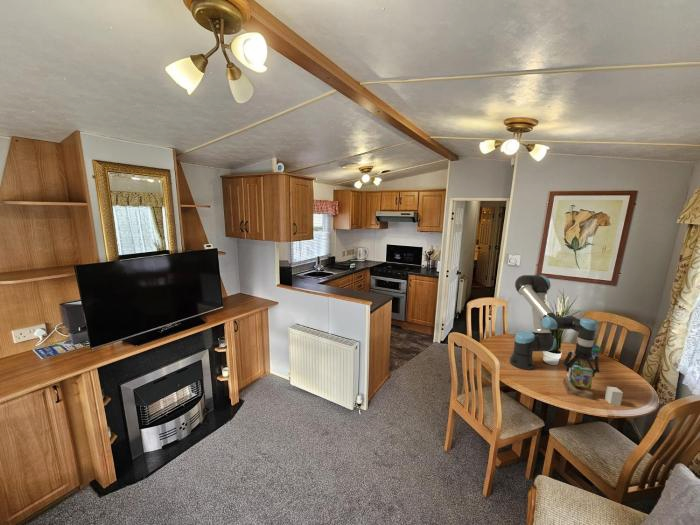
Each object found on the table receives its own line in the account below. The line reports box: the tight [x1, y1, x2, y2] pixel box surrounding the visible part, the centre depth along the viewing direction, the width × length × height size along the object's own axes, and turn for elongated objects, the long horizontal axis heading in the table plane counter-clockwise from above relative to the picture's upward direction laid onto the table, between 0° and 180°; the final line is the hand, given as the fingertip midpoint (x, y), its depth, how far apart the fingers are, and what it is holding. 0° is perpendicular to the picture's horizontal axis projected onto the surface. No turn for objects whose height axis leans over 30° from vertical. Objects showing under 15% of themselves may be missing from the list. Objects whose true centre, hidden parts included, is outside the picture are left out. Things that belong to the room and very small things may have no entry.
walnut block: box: [562, 378, 594, 401], centre depth 176 cm, size 12×12×4 cm
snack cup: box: [589, 343, 601, 362], centre depth 217 cm, size 16×10×10 cm
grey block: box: [604, 386, 624, 406], centre depth 166 cm, size 5×5×8 cm
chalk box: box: [566, 359, 593, 389], centre depth 174 cm, size 9×9×15 cm
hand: (578, 379), depth 175 cm, fingers closed on chalk box, 10 cm apart
